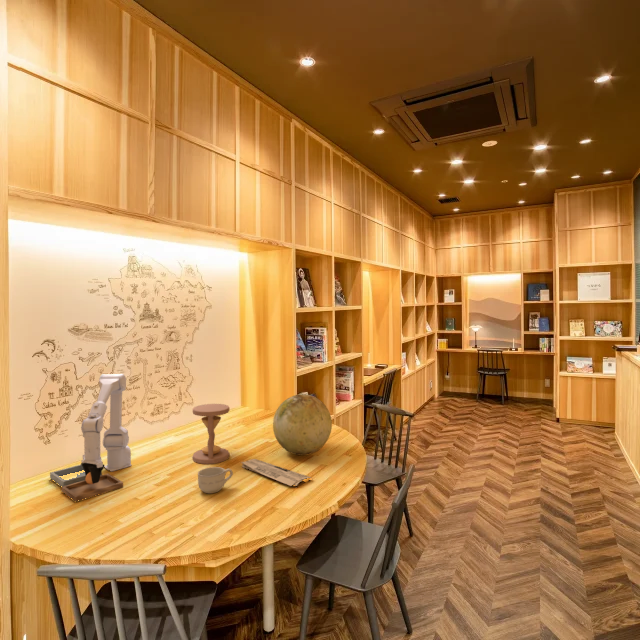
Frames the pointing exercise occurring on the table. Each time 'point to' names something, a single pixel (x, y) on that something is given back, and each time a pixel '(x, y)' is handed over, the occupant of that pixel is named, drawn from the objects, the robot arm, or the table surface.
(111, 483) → the tray
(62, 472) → the dish
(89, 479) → the ball
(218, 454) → the hourglass
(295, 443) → the olive sphere
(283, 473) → the newspaper
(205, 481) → the teacup
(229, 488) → the table surface
